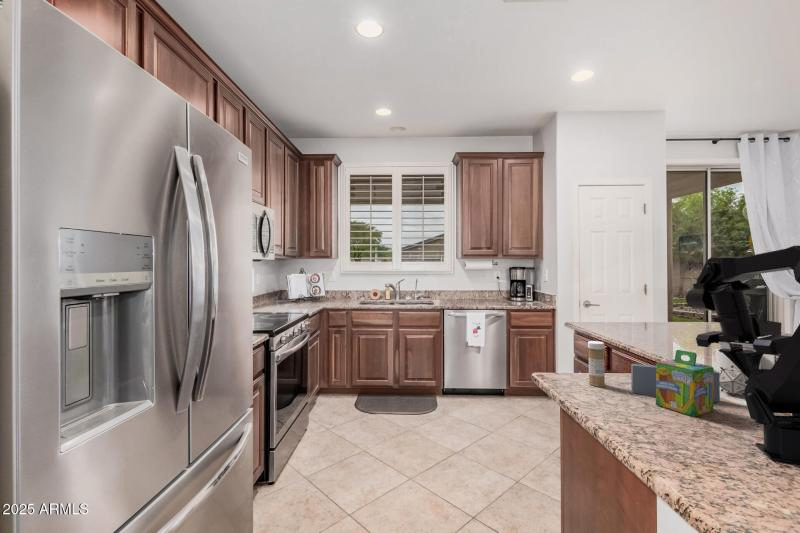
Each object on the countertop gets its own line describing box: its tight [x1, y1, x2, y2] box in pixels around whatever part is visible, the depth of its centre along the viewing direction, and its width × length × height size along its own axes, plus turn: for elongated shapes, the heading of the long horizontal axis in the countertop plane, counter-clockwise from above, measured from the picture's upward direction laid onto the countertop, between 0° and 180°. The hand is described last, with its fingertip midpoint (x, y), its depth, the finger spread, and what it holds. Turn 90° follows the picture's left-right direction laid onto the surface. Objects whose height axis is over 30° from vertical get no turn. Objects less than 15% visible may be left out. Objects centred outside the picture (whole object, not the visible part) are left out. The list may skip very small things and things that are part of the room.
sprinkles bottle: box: [587, 340, 606, 388], centre depth 114 cm, size 5×5×14 cm
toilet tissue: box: [714, 346, 775, 372], centre depth 116 cm, size 11×12×10 cm
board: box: [630, 363, 721, 403], centre depth 103 cm, size 2×20×8 cm, turn 66°
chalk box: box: [655, 349, 715, 418], centre depth 94 cm, size 9×9×15 cm
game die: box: [719, 365, 748, 398], centre depth 105 cm, size 9×8×10 cm
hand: (753, 379), depth 81 cm, fingers closed
